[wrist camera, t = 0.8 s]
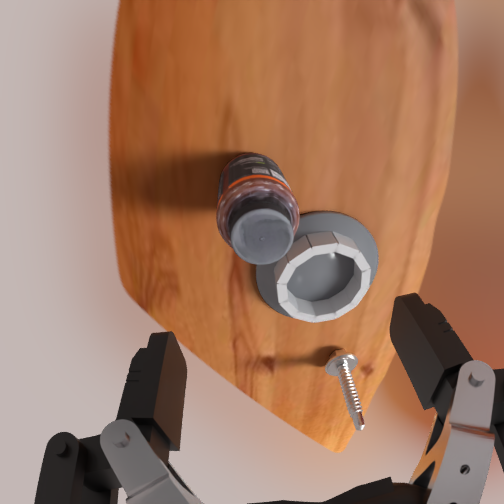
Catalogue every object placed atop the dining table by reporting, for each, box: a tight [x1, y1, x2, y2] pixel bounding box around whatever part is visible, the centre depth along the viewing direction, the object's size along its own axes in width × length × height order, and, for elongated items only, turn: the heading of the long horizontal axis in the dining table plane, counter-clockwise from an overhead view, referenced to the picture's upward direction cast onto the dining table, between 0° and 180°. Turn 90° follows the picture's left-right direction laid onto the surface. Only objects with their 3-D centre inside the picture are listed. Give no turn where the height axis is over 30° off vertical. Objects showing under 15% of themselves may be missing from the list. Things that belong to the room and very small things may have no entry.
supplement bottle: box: [216, 153, 300, 265], centre depth 24 cm, size 6×6×11 cm
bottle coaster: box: [256, 211, 378, 323], centre depth 33 cm, size 14×14×3 cm
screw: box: [325, 349, 365, 430], centre depth 37 cm, size 13×5×5 cm
